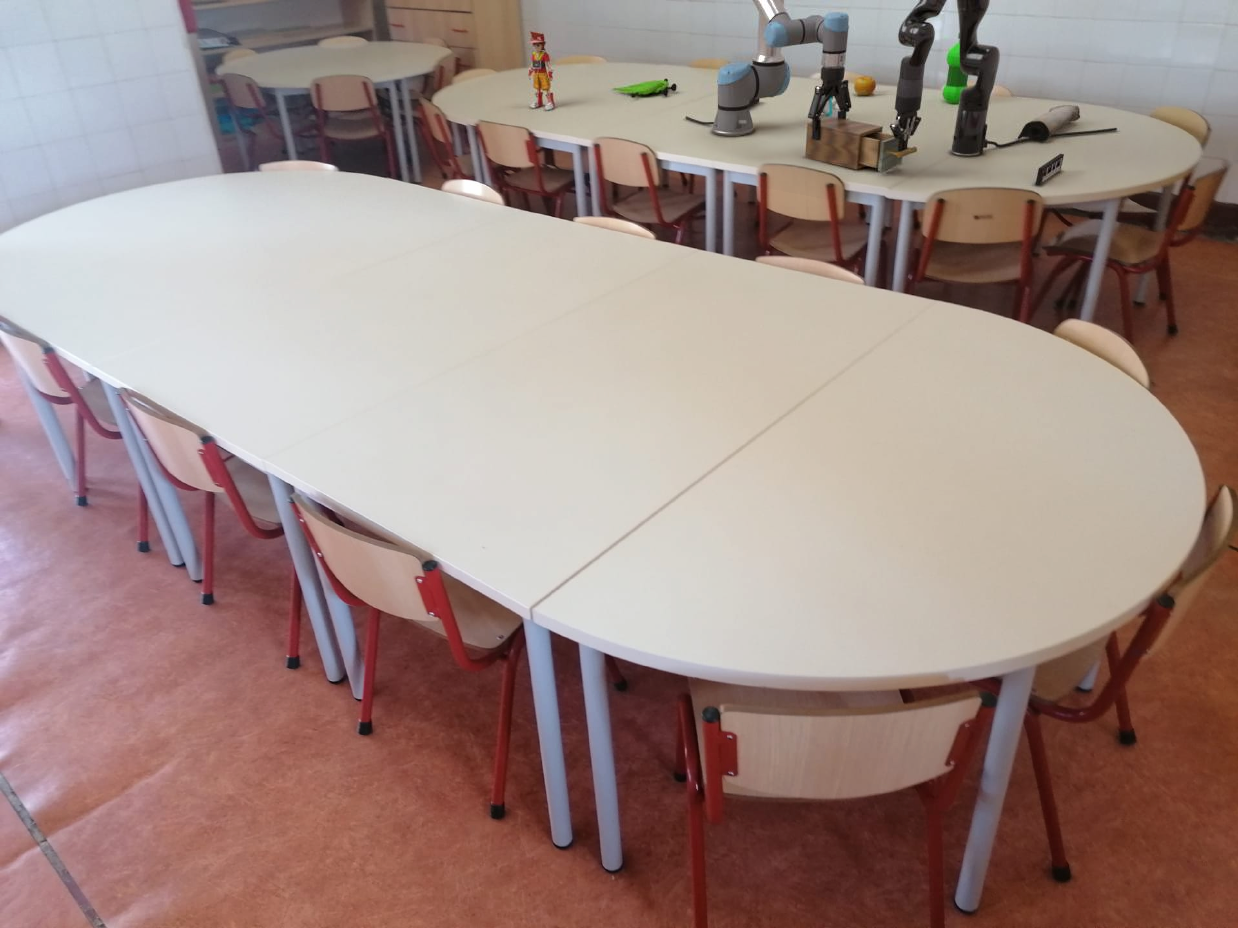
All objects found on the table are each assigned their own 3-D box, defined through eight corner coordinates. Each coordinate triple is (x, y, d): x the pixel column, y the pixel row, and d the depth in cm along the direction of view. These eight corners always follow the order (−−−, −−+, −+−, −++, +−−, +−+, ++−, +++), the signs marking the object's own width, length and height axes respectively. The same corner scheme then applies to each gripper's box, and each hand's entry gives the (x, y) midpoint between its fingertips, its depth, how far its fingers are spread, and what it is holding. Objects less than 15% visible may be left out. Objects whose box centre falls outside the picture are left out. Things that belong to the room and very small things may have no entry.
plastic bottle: (973, 101, 354) (984, 32, 339) (955, 106, 349) (966, 36, 335) (952, 97, 361) (962, 29, 346) (934, 102, 356) (944, 33, 342)
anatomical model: (812, 91, 345) (837, 84, 345) (815, 118, 351) (840, 111, 351) (822, 101, 333) (849, 93, 332) (825, 128, 339) (851, 121, 338)
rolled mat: (1047, 110, 326) (1071, 92, 318) (1060, 131, 326) (1086, 114, 318) (1013, 133, 309) (1038, 115, 301) (1028, 155, 309) (1053, 137, 301)
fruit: (849, 87, 368) (861, 69, 365) (851, 91, 376) (863, 73, 373) (866, 98, 367) (878, 80, 364) (868, 102, 375) (880, 84, 372)
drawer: (917, 167, 285) (920, 138, 280) (896, 175, 280) (899, 145, 275) (851, 153, 303) (853, 124, 298) (830, 159, 298) (832, 131, 293)
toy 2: (686, 85, 398) (631, 84, 414) (685, 72, 395) (629, 72, 411) (651, 104, 381) (596, 103, 397) (650, 92, 378) (594, 91, 394)
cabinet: (879, 161, 296) (882, 126, 290) (856, 169, 291) (859, 134, 284) (828, 150, 311) (830, 116, 305) (805, 157, 305) (807, 123, 299)
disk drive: (744, 111, 360) (759, 102, 370) (744, 104, 358) (760, 95, 368) (721, 109, 365) (737, 100, 375) (721, 102, 363) (737, 93, 373)
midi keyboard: (1039, 185, 269) (1043, 168, 266) (1035, 184, 270) (1038, 168, 267) (1060, 170, 279) (1064, 154, 277) (1056, 169, 280) (1060, 153, 277)
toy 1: (525, 109, 381) (517, 32, 364) (534, 104, 388) (527, 28, 371) (550, 110, 377) (543, 32, 360) (559, 105, 384) (553, 28, 367)
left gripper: (817, 74, 281) (812, 145, 293) (866, 61, 292) (860, 130, 305) (799, 71, 286) (795, 141, 298) (848, 59, 297) (842, 126, 310)
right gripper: (905, 100, 266) (898, 158, 276) (933, 91, 272) (925, 149, 282) (885, 96, 271) (879, 154, 281) (912, 87, 277) (905, 144, 287)
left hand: (828, 135), depth 301 cm, fingers closed on cabinet, 12 cm apart
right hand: (902, 151), depth 281 cm, fingers closed
